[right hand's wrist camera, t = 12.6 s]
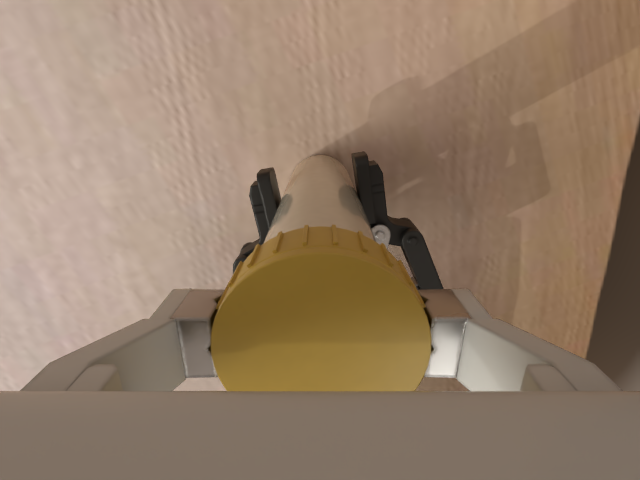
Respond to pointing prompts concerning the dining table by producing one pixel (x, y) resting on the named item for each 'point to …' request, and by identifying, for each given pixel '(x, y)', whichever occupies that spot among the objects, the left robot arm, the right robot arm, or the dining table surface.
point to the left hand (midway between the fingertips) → (311, 164)
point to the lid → (320, 317)
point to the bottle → (320, 199)
